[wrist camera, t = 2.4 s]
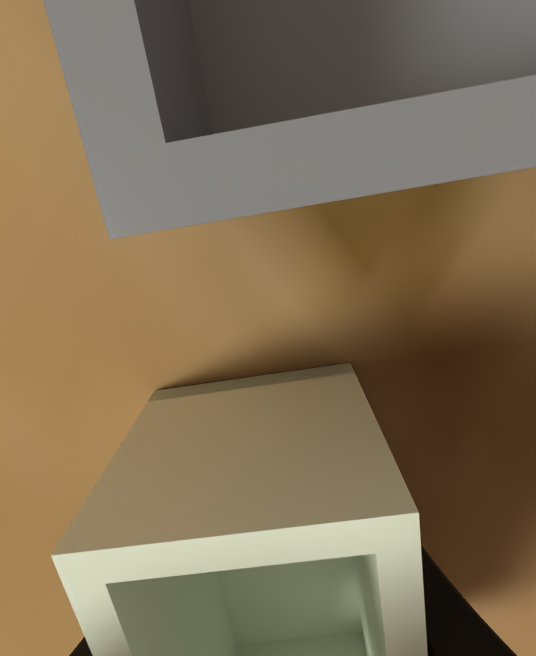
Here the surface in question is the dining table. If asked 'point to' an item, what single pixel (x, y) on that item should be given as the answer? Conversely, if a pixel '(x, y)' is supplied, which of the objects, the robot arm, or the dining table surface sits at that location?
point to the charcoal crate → (291, 100)
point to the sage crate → (250, 528)
